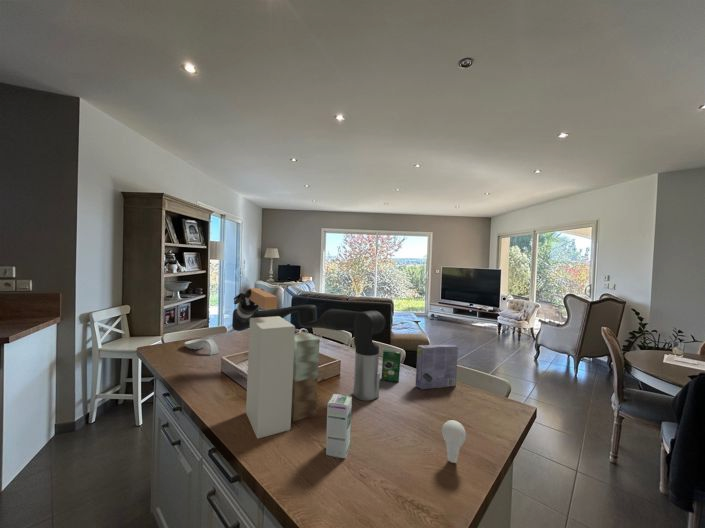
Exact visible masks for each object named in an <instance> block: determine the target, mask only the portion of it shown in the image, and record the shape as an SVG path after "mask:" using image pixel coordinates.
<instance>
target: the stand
mask: <svg viewBox="0 0 705 528" xmlns="http://www.w3.org/2000/svg"><path fill="white" fill-rule="evenodd" d="M249 321H250V328H248V329H249V331H248V332H249V333H248V334H249V335H248V354H247V355H248V358H247V377H246V379H247V382H246V403H245V404H246V405H245V406H246V407H245V414H246V416H247V419H248V420H249V422H250V426H251V428H252V430H253V432H254V434H255V438H256V439H261V438H264V437H269V436H272V435H276V434H280V433H284V432H287V431H290V430H291V427H292V426H291V425H292V423H291V422H292V418H291V406H292V384H293V361H294V339H295V335H296V334H295V333H296V326H295V325H294V324H292V323H291V322H289V321H287V320H286V319H284V318H281V317H280V316H276V317H260V318H253V317H251V318H250V319H249Z"/></svg>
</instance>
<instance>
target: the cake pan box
mask: <svg viewBox="0 0 705 528" xmlns="http://www.w3.org/2000/svg"><path fill="white" fill-rule="evenodd" d="M416 350H417V351H416V367H415V368H416V369H415V386H416V387H417V388H419V390H429V389H431V390H432V389H441V388H449V387H450V386H451V387H456V386H457V373H458V372H457V371H458V354H459V346H458V345H455V344H426V345H425V344H420V345H417V349H416Z"/></svg>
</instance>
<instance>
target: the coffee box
mask: <svg viewBox="0 0 705 528" xmlns="http://www.w3.org/2000/svg"><path fill="white" fill-rule="evenodd" d="M401 352H402V351H395V350H389V349H383V352H382V363H381V377H380V378H381V381H385V380H388V381H387V382H394V381H395V382H396V383H399V382H400V370H401V359H402V358H401V357H402V353H401ZM395 382H394V383H395Z"/></svg>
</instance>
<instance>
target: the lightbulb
mask: <svg viewBox="0 0 705 528" xmlns="http://www.w3.org/2000/svg"><path fill="white" fill-rule="evenodd" d="M441 434H442V437H443V439H444V442H445V446H446V452H447V453H446V455H447V458H446V459H447V460H448V462H450V463H451V464H454V463H457V462H458V457H459V454H460V449H461V447H462V446H463V444H464V443H465V441H466V439H467V432H466V429H465V427H464V426H463V424H462V423H460V422H459V421H457V420H454V419H450V420H447V421H445V422H444V424H443V425H442V428H441Z"/></svg>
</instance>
